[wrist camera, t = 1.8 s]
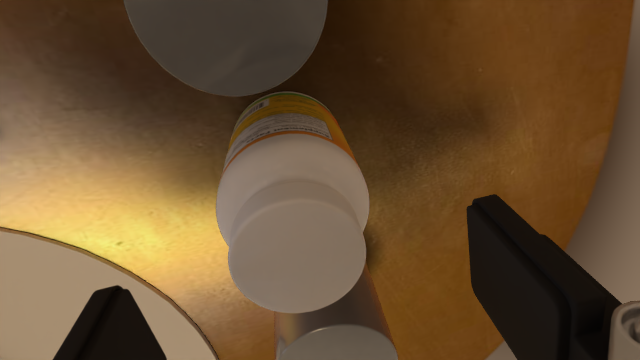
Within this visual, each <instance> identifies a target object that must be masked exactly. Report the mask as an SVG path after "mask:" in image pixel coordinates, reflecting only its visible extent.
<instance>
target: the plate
mask: <svg viewBox="0 0 640 360" xmlns="http://www.w3.org/2000/svg"><path fill="white" fill-rule="evenodd" d="M115 285H119V286H121V287H122V288H123V289H128V290H129V291H130V292H131V294H132V296H133V298H134V299H135V301H136V303H137V305H138V307H139V308H140V310H141V312H142V314H143V316H144V317H145V319H146V321H147V323H148V325H149V326H150V328H151V330H152V332H153V334H154V335H155V337H156V339H157V341H158V343H159V344H160V346H161V348H162V350H163V352H164V354H165V355H166V358H167V360H218V357H217V355H216V353H215V352H214V350H213V348H212V347H211V345H210V343H209V342H208V340H207V339H206V337H205V336H204V335H203V333H202V332H201V330H200V329H199V328H198V326H197V325H196V324H195V323H194V322H193V321H192V320H191V319H190V318H189V317H188V316H187V315H186V313H185V312H183V311H182V310H181V309H180V308H179V307H178V306H177V305H176V304H175V303H174V302H173V301H172V300H171V299H169V298H168V297H167V296H165V295H164V294H163V293H161V292H160V291H158V290H157V289H156V288H154V287H153V286H151V285H150V284H148V283H147V282H145V281H144V280H142V279H140V278H139V277H137V276H136V275H134V274H133V273H131V272H129V271H127V270H125V269H123V268H121V267H119V266H117V265H115V264H113V263H111V262H109V261H107V260H105V259H103V258H100V257H98V256H96V255H94V254H91V253H89V252H87V251H85V250H82V249H79V248H76V247H73V246H70V245H67V244H64V243H61V242H57V241H54V240H50V239H47V238H43V237H39V236H36V235H32V234H28V233H24V232H19V231H13V230H8V229H3V228H0V360H53V358H54V356H55V355H56V353H57V351H58V350H59V348H60V347H61V345H62V343H63V342H64V340H65V338H66V337H67V335H68V333H69V332H70V330H71V328H72V327H73V325H74V323H75V322H76V320H77V318H78V317H79V315H80V314H81V312H82V310H83V309H84V307H85V305H86V304H87V302H88V300H89V299H90V297H91V295H92V294H93V293H94V291H96V290H99V289H103V288H107V287H111V286H115Z"/></svg>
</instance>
